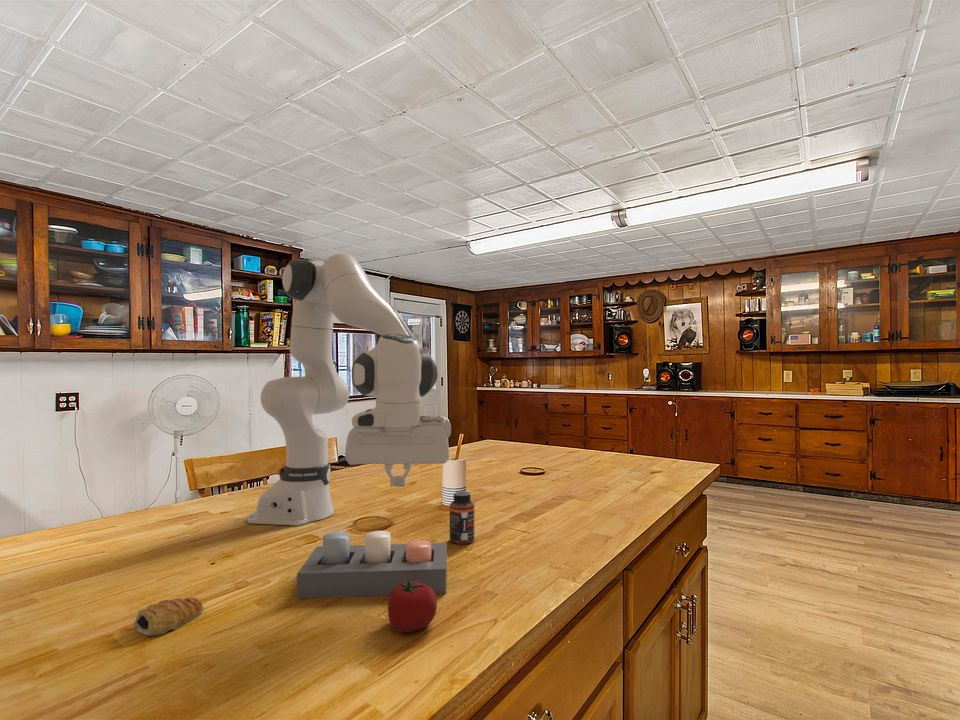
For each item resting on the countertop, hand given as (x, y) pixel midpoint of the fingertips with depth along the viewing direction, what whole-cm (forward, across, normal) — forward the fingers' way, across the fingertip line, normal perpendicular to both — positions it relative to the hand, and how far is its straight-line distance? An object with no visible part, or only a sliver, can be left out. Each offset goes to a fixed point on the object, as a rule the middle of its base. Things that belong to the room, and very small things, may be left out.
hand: (398, 485), depth 96 cm
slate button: (+16, +12, 0) cm, 20 cm away
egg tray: (+18, +4, +1) cm, 19 cm away
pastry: (+19, +36, +14) cm, 43 cm away
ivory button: (+15, +4, +1) cm, 16 cm away
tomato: (+18, -4, +18) cm, 26 cm away
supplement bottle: (+19, -14, -19) cm, 30 cm away
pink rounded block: (+18, -4, +1) cm, 18 cm away
